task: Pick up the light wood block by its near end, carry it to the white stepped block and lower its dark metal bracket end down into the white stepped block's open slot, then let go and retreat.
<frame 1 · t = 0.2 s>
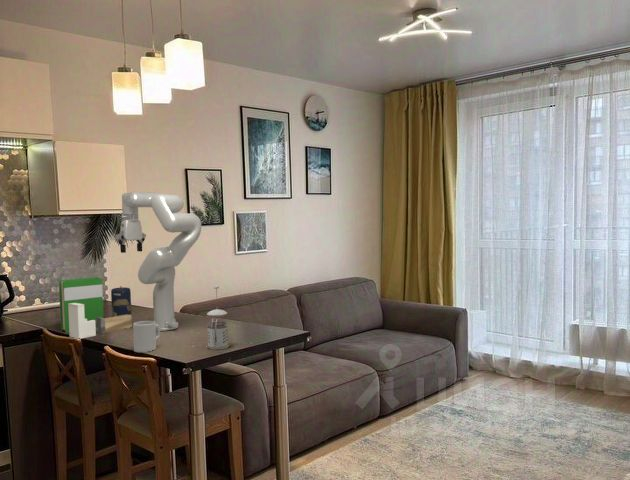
hand: (131, 252, 271), 36 cm above the breakfast bar, tool pointing down, fingers open, 9 cm apart
hardback book: (82, 329, 261), on the breakfast bar
canister: (122, 321, 279), on the breakfast bar
mug: (148, 349, 218), on the breakfast bar
french press: (217, 348, 218), on the breakfast bar
white stepped block: (80, 336, 244), on the breakfast bar
light wood block: (114, 329, 257), on the breakfast bar
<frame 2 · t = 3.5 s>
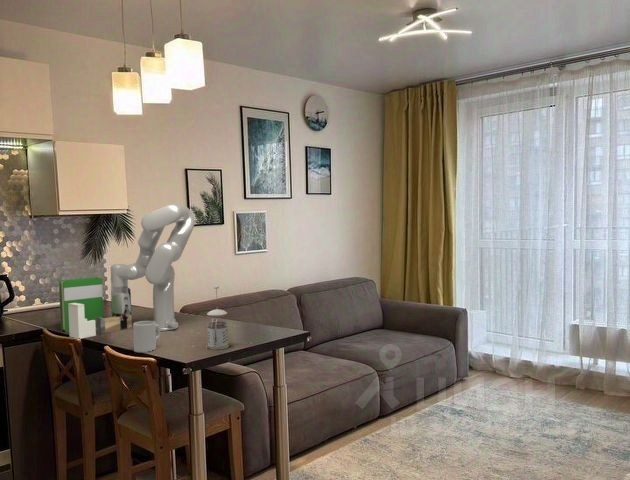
hand: (121, 327, 260), 1 cm above the breakfast bar, tool pointing down, fingers closed on light wood block, 4 cm apart
light wood block: (114, 329, 257), on the breakfast bar, touching gripper
everything else where it was.
when the fingers open (2 cm above the breakfast bar, at t = 7.7 s): light wood block drops 1 cm, on the breakfast bar.
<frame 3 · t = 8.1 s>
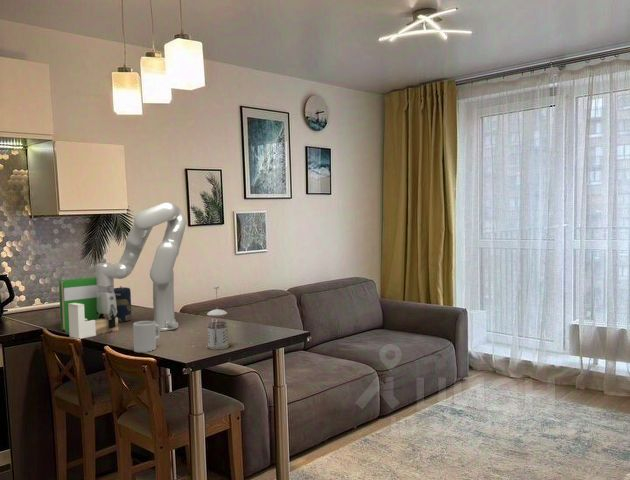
hand: (106, 326, 254), 2 cm above the breakfast bar, tool pointing down, fingers open, 8 cm apart
light wood block: (100, 332, 251), on the breakfast bar
everything else where it was.
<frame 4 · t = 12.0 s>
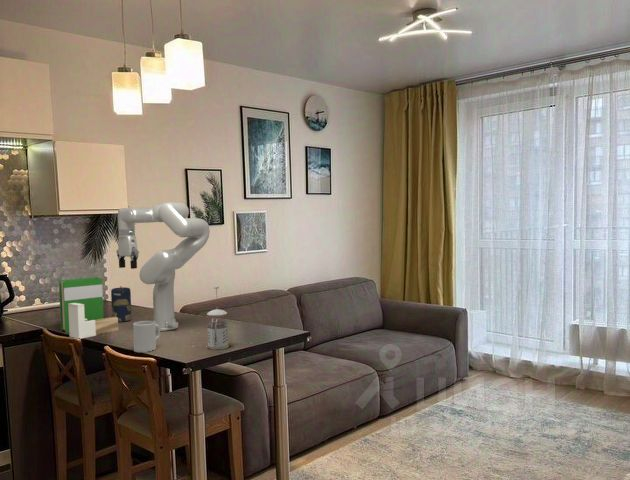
hand: (128, 268, 267), 28 cm above the breakfast bar, tool pointing down, fingers open, 9 cm apart
nothing on the breakfast bar moved.
at the end: light wood block 0.2 cm from the target spot on the breakfast bar beside the white stepped block, on the breakfast bar; light wood block tilted 0°; the gripper is holding nothing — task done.
